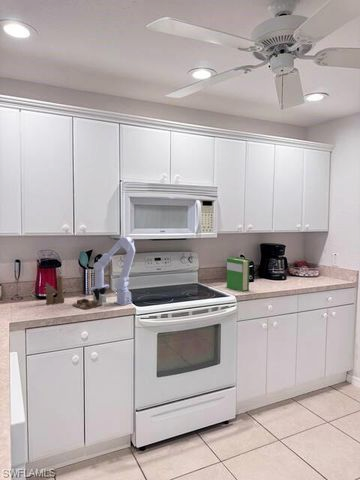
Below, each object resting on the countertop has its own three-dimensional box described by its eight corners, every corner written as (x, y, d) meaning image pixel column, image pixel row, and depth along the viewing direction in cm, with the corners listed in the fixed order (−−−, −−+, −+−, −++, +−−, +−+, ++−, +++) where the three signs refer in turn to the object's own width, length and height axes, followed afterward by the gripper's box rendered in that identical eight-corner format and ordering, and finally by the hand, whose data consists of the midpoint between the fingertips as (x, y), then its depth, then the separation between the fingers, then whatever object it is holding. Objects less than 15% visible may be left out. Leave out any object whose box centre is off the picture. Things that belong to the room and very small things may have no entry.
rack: (101, 305, 223) (101, 301, 223) (85, 309, 214) (85, 304, 213) (88, 302, 232) (88, 297, 232) (72, 305, 223) (72, 301, 223)
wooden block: (46, 303, 227) (45, 276, 226) (62, 301, 233) (62, 275, 232) (47, 305, 224) (47, 277, 223) (64, 302, 230) (64, 275, 229)
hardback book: (248, 290, 271) (249, 260, 270) (241, 291, 267) (242, 260, 266) (233, 286, 286) (233, 257, 284) (226, 287, 282) (227, 258, 280)
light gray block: (106, 302, 232) (106, 295, 232) (102, 303, 230) (102, 295, 229) (96, 299, 238) (96, 292, 238) (93, 300, 236) (93, 293, 236)
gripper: (104, 277, 241) (104, 296, 242) (86, 280, 230) (86, 300, 231) (110, 278, 236) (111, 298, 237) (93, 281, 225) (93, 302, 226)
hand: (99, 299), depth 234 cm, fingers closed on light gray block, 3 cm apart
